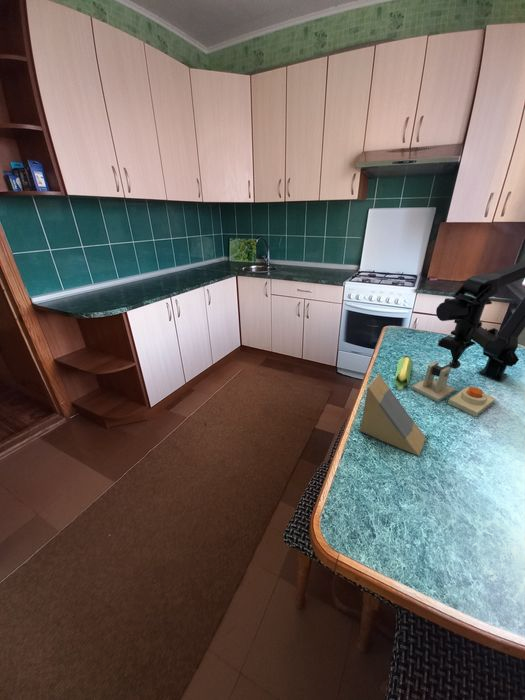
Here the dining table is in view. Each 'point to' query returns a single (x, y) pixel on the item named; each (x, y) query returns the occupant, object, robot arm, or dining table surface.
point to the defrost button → (475, 392)
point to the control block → (471, 402)
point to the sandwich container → (389, 419)
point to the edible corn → (403, 371)
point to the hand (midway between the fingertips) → (455, 360)
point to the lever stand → (434, 384)
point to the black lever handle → (438, 369)
